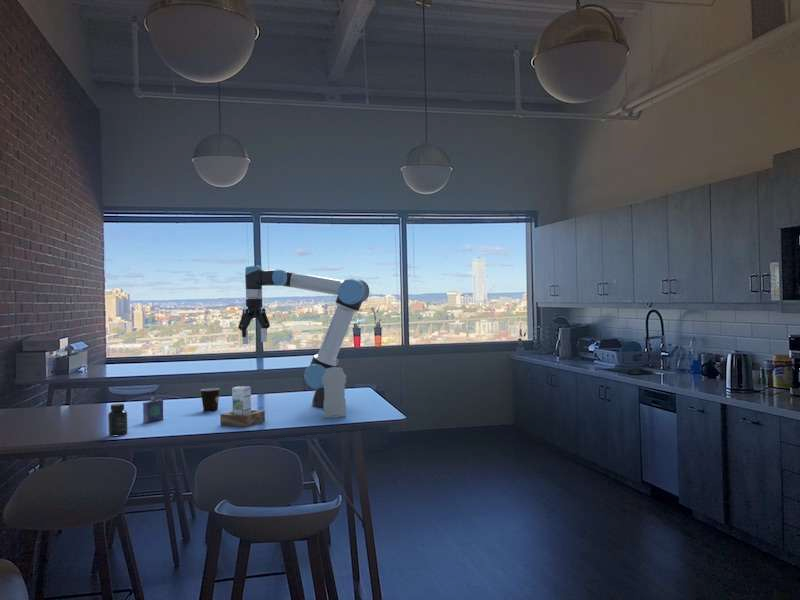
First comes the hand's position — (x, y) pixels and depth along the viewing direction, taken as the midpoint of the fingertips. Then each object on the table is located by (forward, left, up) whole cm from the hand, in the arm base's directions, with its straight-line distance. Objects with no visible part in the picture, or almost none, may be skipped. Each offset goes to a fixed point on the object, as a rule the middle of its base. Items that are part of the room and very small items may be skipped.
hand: (254, 343), depth 299 cm
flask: (+37, +28, -32) cm, 56 cm away
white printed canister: (-5, +32, -31) cm, 45 cm away
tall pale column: (-42, +18, -32) cm, 56 cm away
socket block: (-5, +32, -32) cm, 45 cm away
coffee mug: (+21, +1, -32) cm, 38 cm away
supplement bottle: (+38, +54, -32) cm, 73 cm away
